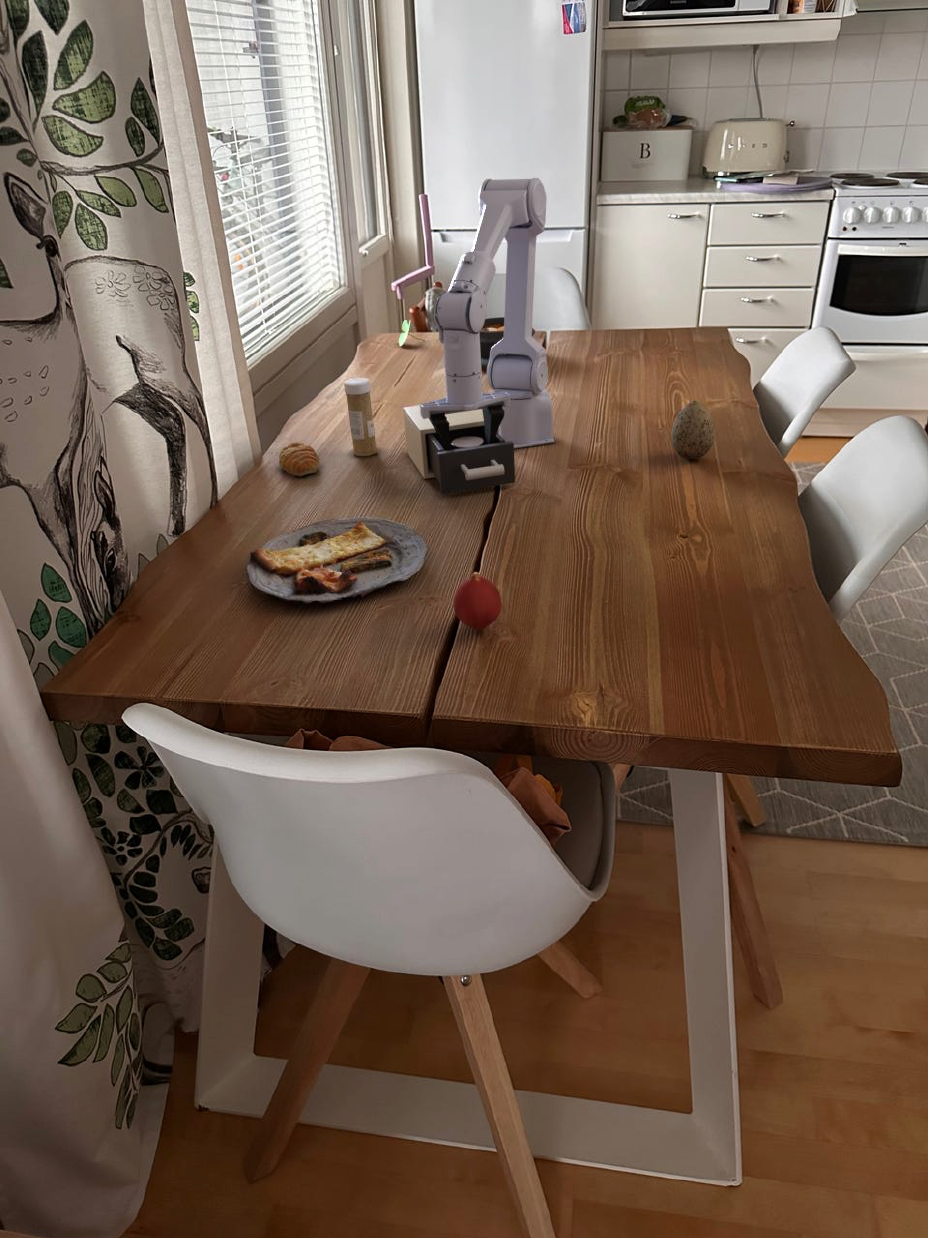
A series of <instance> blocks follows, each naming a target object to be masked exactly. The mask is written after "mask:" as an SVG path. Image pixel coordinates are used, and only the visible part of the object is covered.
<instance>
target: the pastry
mask: <svg viewBox="0 0 928 1238" xmlns="http://www.w3.org/2000/svg"><path fill="white" fill-rule="evenodd" d="M278 459H279V460H278V464H279V466H280V467H281V468H282V470H283V471H284V472H287V473H288V474H289V475H292V476H297V477H302V476H305V475H309V474H314V473H316V472H317V471H318V468H319V464H320V461H319V460H320V457H319V455H318V453H317V452H316V450H315V448H313V447H312V446H311V445H307V444H305V443H304V442H303V443H302V442H291V443H290V444H288V445H287V446H284V447H283V448H282V450H281V451H280V452H279V456H278Z"/></svg>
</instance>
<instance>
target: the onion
mask: <svg viewBox="0 0 928 1238" xmlns="http://www.w3.org/2000/svg"><path fill="white" fill-rule="evenodd" d="M452 603H453V604H452V605H453V609H454V613H455V616H456V618H457V619H458V620H459V621H460V622H461V623H462V624H464V625H465V626H467V627H469V628H470V629H471V628H472V629H473V631H475V632H482V631H484V630H485V629H486V628H487V627H490V625H491V624H493V623H494V622H495V621H497V619H498V617H499V615H500V614H501V612H502V606H503V603H502V597H501V593H500V590H499V589H498V588H497V586H496V585H495V584H494V583H493V582H491V581H490V580H489V579H488V578H486V577H484V576H482V575H481V574H480V573H479V572H478V571H474V572H473V573H472V574H471V575H470V577H468V578H466V579H465V580H464V581H462V582H461V583H460V585H459V586H458V587H457V589H456V591H455V593H454V595H453V602H452Z"/></svg>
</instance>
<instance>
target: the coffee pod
mask: <svg viewBox="0 0 928 1238" xmlns="http://www.w3.org/2000/svg"><path fill="white" fill-rule="evenodd" d="M483 443H484V440H483V439H482V438H479V437H472V436H469V437H461V438H457V439H455V440H453V442H452V445H453V446H454V447H456V449H462V448H468V447H475V446H481V445H483Z"/></svg>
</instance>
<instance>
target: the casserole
mask: <svg viewBox="0 0 928 1238" xmlns="http://www.w3.org/2000/svg"><path fill="white" fill-rule="evenodd" d="M479 334H480V353H481V367H488V363H489V360H490V351H491V348H492V347H493V346H494V345H495V344H497V343H498V342H499V341H500V340H502V339H503V338H504V317H501V316H500V317H488V318H485V322H484V325H483V327H482V329H481V330H480V331H479ZM535 334H536V330H535V329H534V328H533V327H532V337H533V336H534V335H535ZM533 338H534V337H533ZM505 356H520V357H529V356H528V355H523V354H506V355H505Z"/></svg>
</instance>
